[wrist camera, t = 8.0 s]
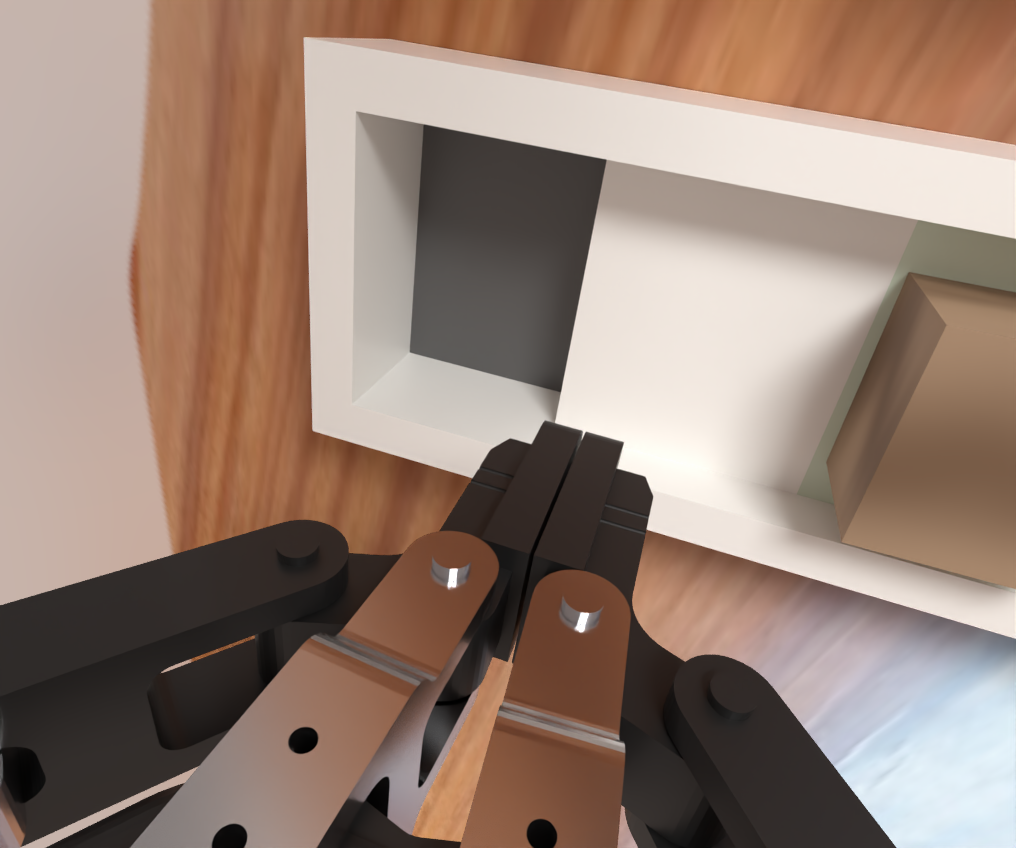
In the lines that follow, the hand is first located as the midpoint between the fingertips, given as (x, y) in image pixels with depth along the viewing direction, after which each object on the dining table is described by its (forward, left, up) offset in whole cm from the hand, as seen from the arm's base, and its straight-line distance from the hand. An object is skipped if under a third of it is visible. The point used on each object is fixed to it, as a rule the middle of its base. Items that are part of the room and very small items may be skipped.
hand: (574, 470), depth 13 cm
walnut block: (0, +9, -9) cm, 13 cm away
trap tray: (0, +6, -12) cm, 14 cm away
